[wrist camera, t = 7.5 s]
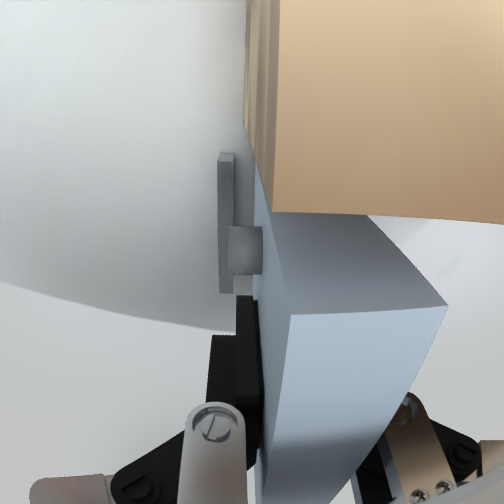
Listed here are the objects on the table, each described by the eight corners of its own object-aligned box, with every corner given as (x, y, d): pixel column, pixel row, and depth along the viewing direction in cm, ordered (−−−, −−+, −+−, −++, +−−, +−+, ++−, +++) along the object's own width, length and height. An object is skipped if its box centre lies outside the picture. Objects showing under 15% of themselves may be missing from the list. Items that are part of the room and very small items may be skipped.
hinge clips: (287, 268, 22) (294, 292, 19) (221, 268, 22) (219, 293, 19) (295, 154, 18) (306, 163, 16) (220, 152, 18) (217, 161, 16)
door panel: (288, 358, 16) (312, 521, 8) (234, 358, 16) (233, 526, 8) (309, 161, 11) (448, 305, 3) (233, 159, 11) (211, 314, 3)
